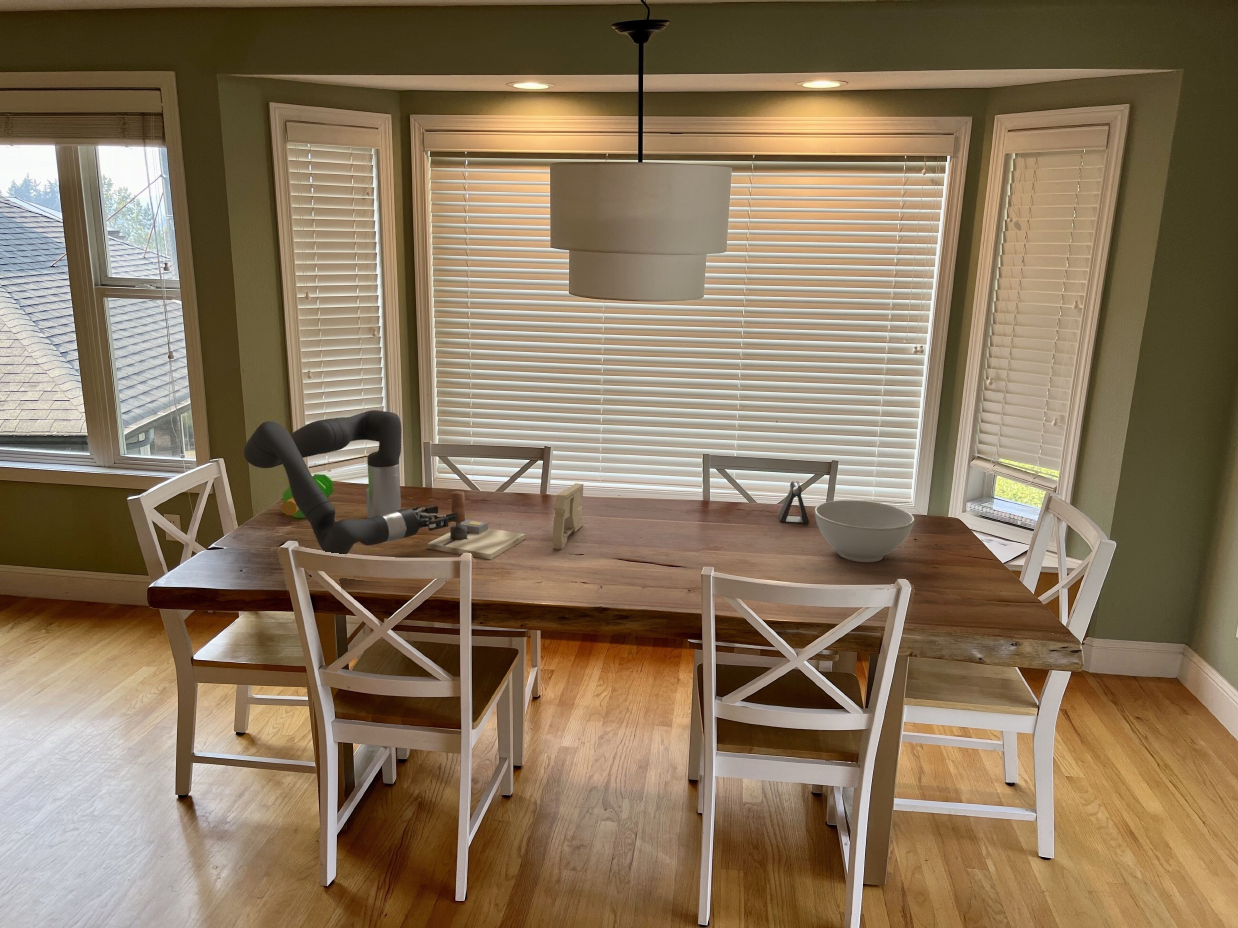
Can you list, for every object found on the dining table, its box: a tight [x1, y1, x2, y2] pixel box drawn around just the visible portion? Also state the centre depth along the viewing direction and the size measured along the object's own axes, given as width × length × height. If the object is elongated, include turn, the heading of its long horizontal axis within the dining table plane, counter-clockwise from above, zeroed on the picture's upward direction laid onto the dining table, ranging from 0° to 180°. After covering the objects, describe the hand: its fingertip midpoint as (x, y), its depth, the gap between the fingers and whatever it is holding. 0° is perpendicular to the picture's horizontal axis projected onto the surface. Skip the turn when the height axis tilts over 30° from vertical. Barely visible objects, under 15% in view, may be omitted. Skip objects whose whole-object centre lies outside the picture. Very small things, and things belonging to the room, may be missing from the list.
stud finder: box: [461, 518, 489, 534], centre depth 260 cm, size 7×5×2 cm
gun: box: [551, 482, 584, 550], centre depth 259 cm, size 24×3×15 cm, turn 168°
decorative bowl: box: [814, 499, 916, 563], centre depth 250 cm, size 27×27×12 cm
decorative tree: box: [280, 473, 334, 519], centre depth 280 cm, size 11×12×30 cm
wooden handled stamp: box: [449, 490, 467, 540], centre depth 251 cm, size 5×5×13 cm
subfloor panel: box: [427, 527, 526, 560], centre depth 253 cm, size 20×19×2 cm
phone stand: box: [778, 480, 810, 525], centre depth 280 cm, size 9×6×12 cm, turn 84°
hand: (446, 512), depth 248 cm, fingers open, 8 cm apart
